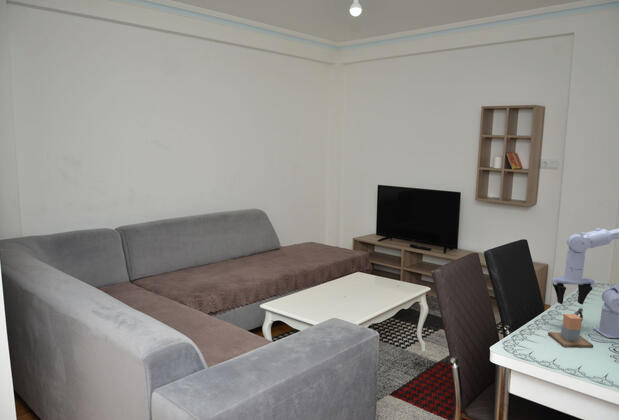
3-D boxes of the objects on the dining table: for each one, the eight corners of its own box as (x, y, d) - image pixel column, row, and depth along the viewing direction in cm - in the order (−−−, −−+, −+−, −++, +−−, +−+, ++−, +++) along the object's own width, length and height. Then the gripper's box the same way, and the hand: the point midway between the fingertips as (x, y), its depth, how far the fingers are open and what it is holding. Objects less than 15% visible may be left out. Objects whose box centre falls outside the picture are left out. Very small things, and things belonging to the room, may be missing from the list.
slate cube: (572, 335, 163) (573, 324, 163) (578, 340, 159) (580, 329, 159) (560, 335, 163) (562, 324, 163) (567, 340, 159) (568, 329, 159)
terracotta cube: (573, 325, 162) (575, 314, 162) (580, 329, 159) (582, 318, 158) (562, 324, 162) (563, 313, 162) (569, 329, 158) (570, 318, 158)
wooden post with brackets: (586, 317, 182) (584, 307, 180) (572, 328, 179) (571, 318, 178) (581, 315, 184) (579, 305, 182) (568, 326, 181) (566, 316, 179)
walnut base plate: (575, 335, 166) (575, 332, 166) (593, 347, 156) (593, 345, 156) (547, 334, 166) (548, 332, 166) (563, 347, 156) (564, 344, 156)
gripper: (587, 265, 174) (582, 300, 176) (549, 264, 173) (545, 299, 176) (599, 270, 167) (594, 306, 169) (559, 269, 167) (555, 305, 169)
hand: (570, 303), depth 172 cm, fingers open, 7 cm apart
